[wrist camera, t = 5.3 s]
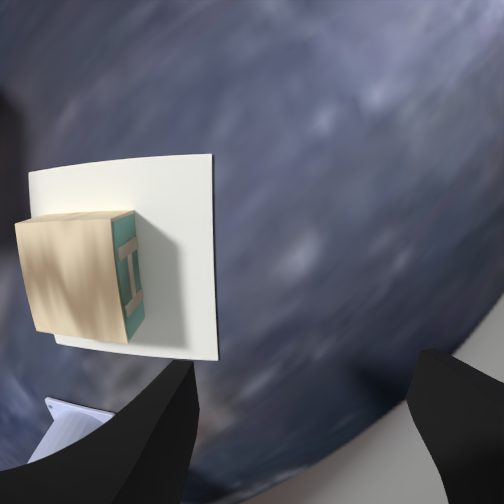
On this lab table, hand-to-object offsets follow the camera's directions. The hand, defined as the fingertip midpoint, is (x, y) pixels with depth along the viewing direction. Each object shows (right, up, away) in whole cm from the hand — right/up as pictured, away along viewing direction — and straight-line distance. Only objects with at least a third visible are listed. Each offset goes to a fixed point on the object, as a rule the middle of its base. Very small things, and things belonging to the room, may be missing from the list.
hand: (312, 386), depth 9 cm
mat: (-11, +3, +9) cm, 15 cm away
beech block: (-9, +3, +8) cm, 12 cm away
